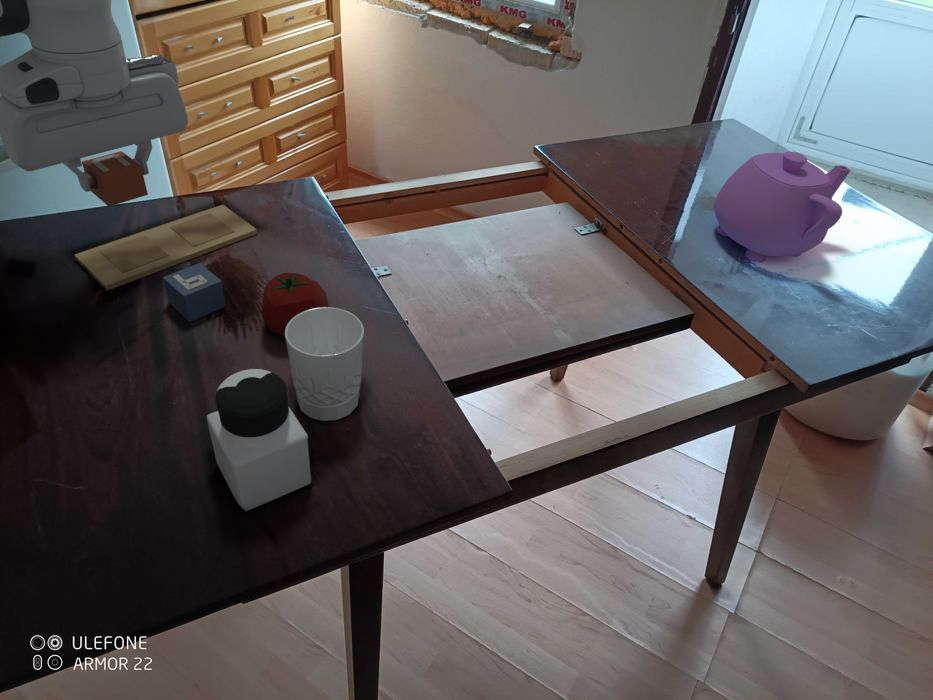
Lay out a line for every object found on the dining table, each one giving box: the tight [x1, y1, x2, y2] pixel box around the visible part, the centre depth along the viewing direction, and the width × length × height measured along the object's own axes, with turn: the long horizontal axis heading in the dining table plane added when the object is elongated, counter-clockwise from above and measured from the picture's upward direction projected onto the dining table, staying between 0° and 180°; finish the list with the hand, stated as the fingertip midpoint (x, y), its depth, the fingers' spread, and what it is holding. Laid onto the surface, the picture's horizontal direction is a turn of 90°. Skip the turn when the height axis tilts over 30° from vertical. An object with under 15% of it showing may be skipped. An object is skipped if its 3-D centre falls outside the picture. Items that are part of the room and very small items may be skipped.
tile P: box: [162, 262, 227, 323], centre depth 85 cm, size 5×5×4 cm
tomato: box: [261, 272, 329, 338], centre depth 83 cm, size 8×8×7 cm
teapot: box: [713, 151, 852, 263], centre depth 106 cm, size 20×20×15 cm
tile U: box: [81, 150, 149, 207], centre depth 85 cm, size 5×5×4 cm
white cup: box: [284, 306, 365, 422], centre depth 73 cm, size 8×8×10 cm
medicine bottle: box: [206, 368, 313, 512], centre depth 64 cm, size 7×7×12 cm
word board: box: [73, 204, 258, 291], centre depth 95 cm, size 9×22×1 cm, turn 136°
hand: (115, 181), depth 85 cm, fingers closed on tile U, 5 cm apart
